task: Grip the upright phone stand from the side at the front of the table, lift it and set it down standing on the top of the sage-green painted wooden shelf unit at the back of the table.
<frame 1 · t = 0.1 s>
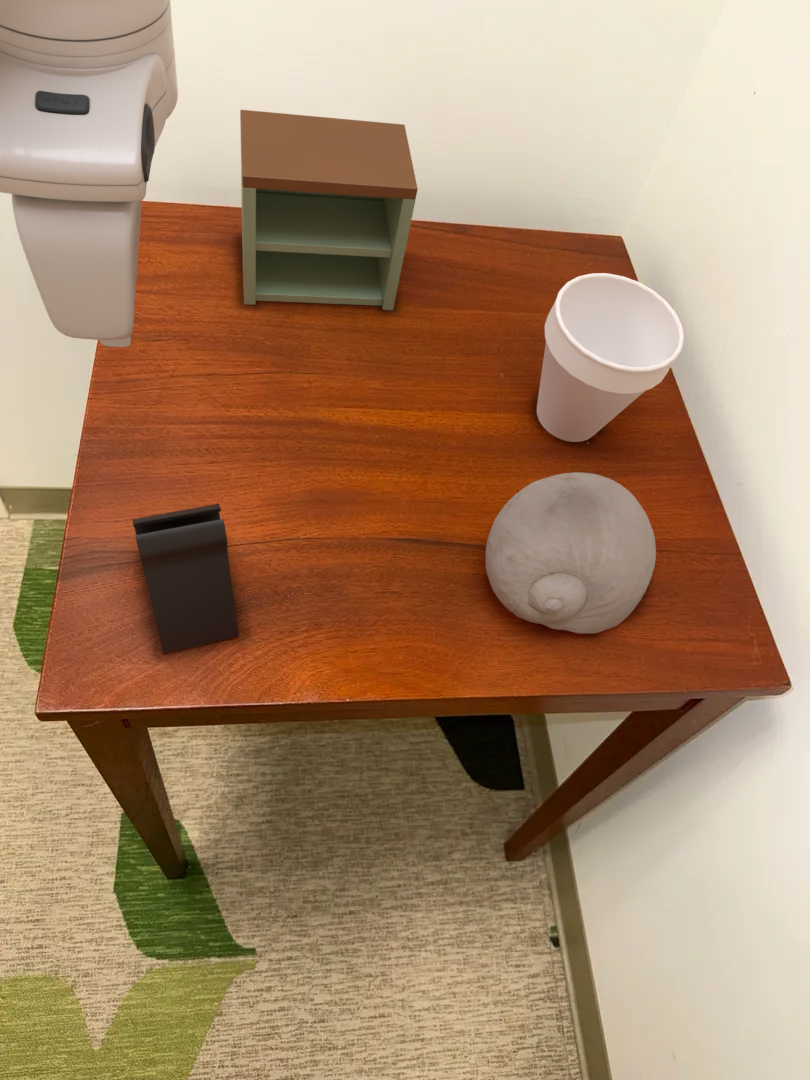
hand: (121, 283, 48), 23 cm above the table, tool pointing down, fingers open, 8 cm apart
phone stand: (190, 598, 63), on the table
cup: (567, 417, 81), on the table
shelf: (316, 275, 85), on the table
seashell: (560, 569, 71), on the table
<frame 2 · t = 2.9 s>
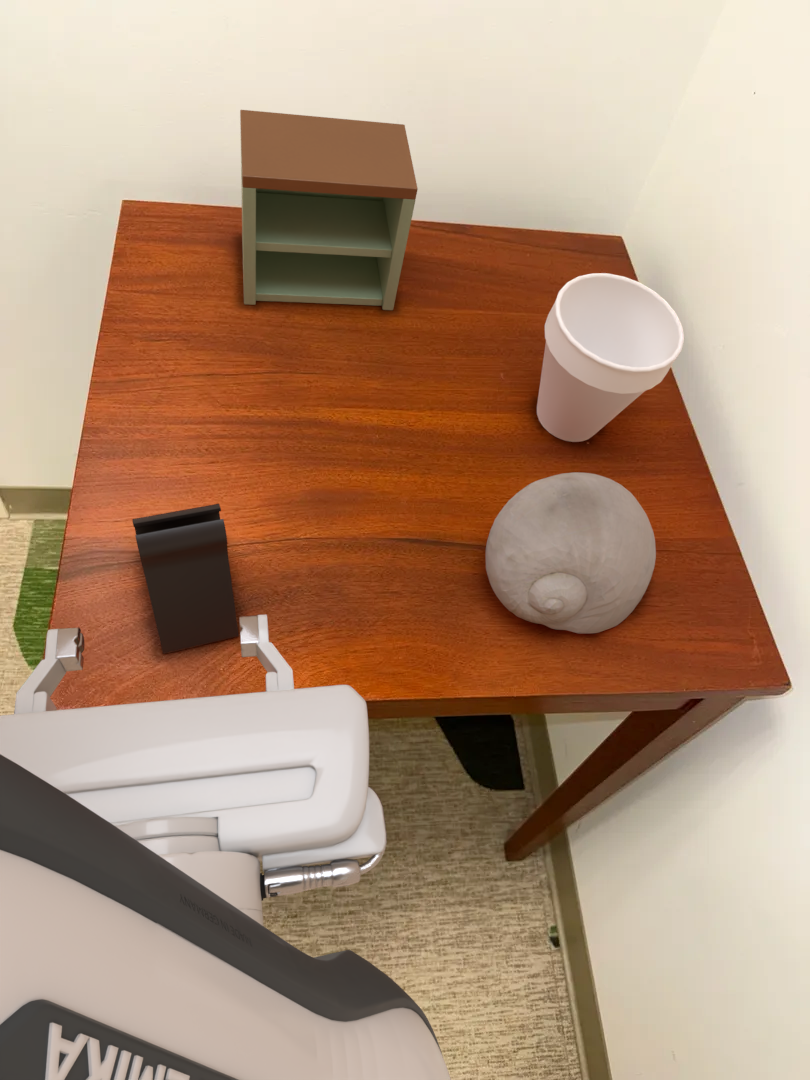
hand: (162, 625, 40), 20 cm above the table, tool horizontal, fingers open, 8 cm apart
nothing on the table moved.
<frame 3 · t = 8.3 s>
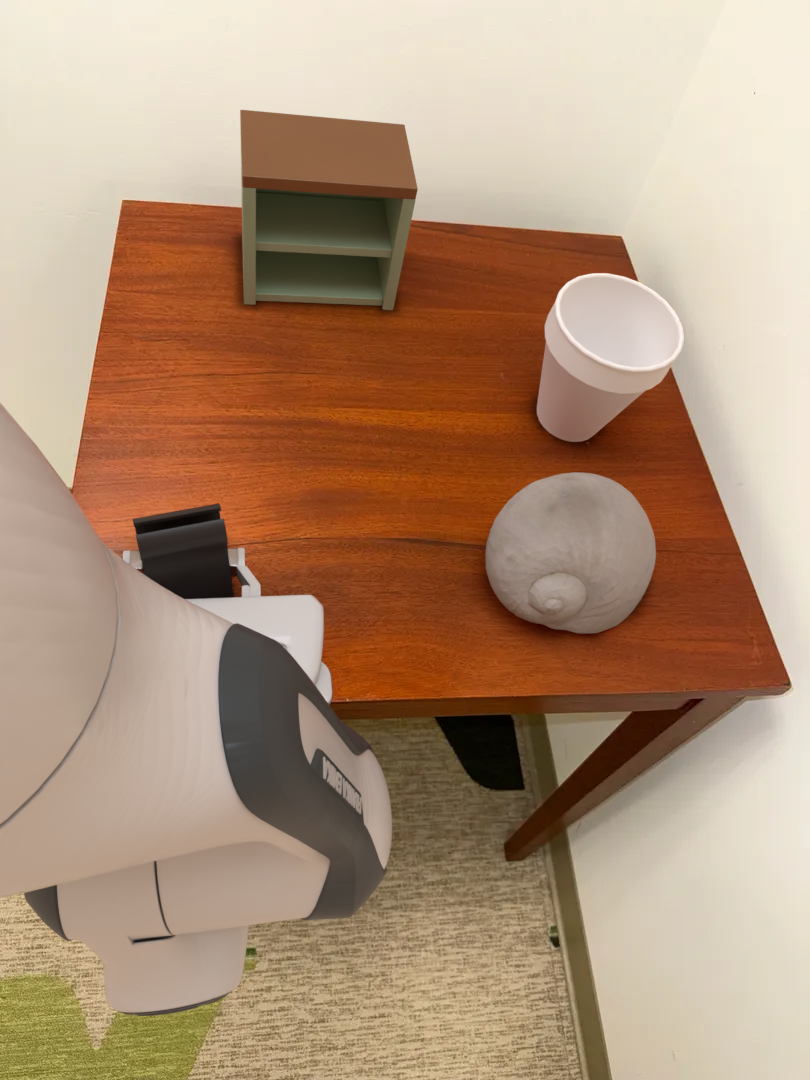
hand: (185, 552, 58), 6 cm above the table, tool horizontal, fingers closed on phone stand, 6 cm apart
phone stand: (191, 598, 63), on the table, touching gripper
everything else where it was.
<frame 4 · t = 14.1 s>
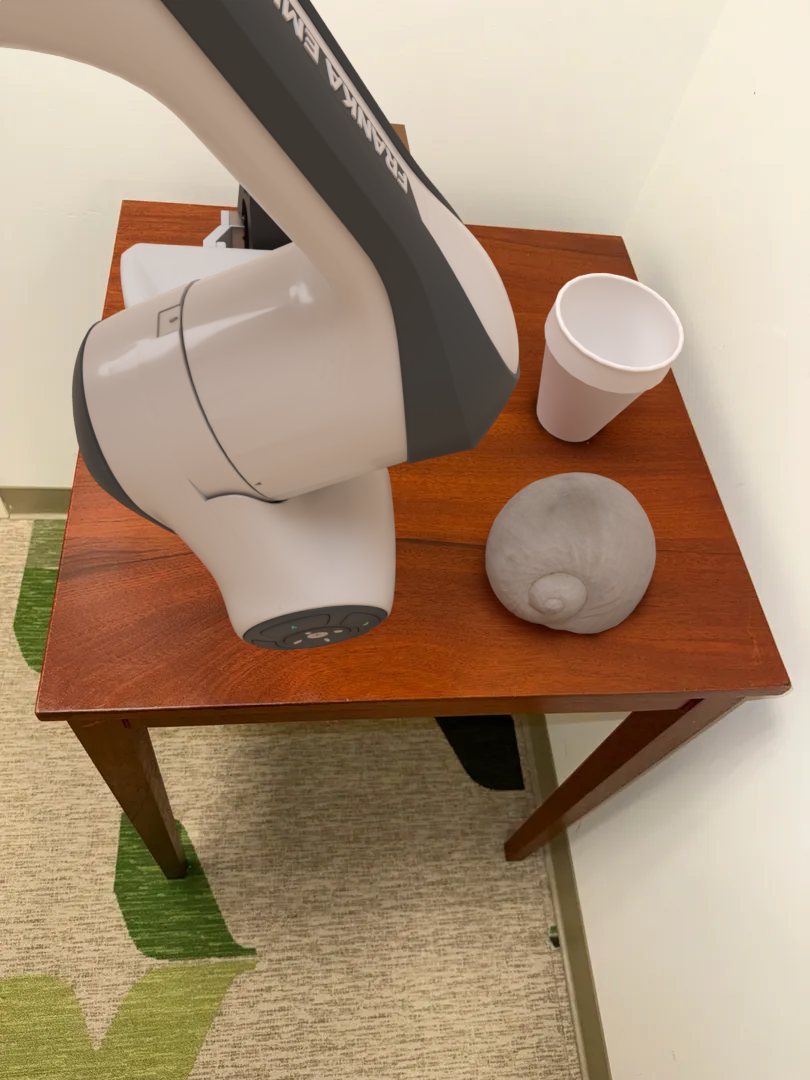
hand: (288, 223, 51), 25 cm above the table, tool horizontal, fingers closed on phone stand, 6 cm apart
phone stand: (286, 304, 56), point 19 cm above the table, touching gripper
everything else where it was.
when the fingers open (21 cm above the table, at t = 20.4 s): phone stand stays where it is, resting on shelf.
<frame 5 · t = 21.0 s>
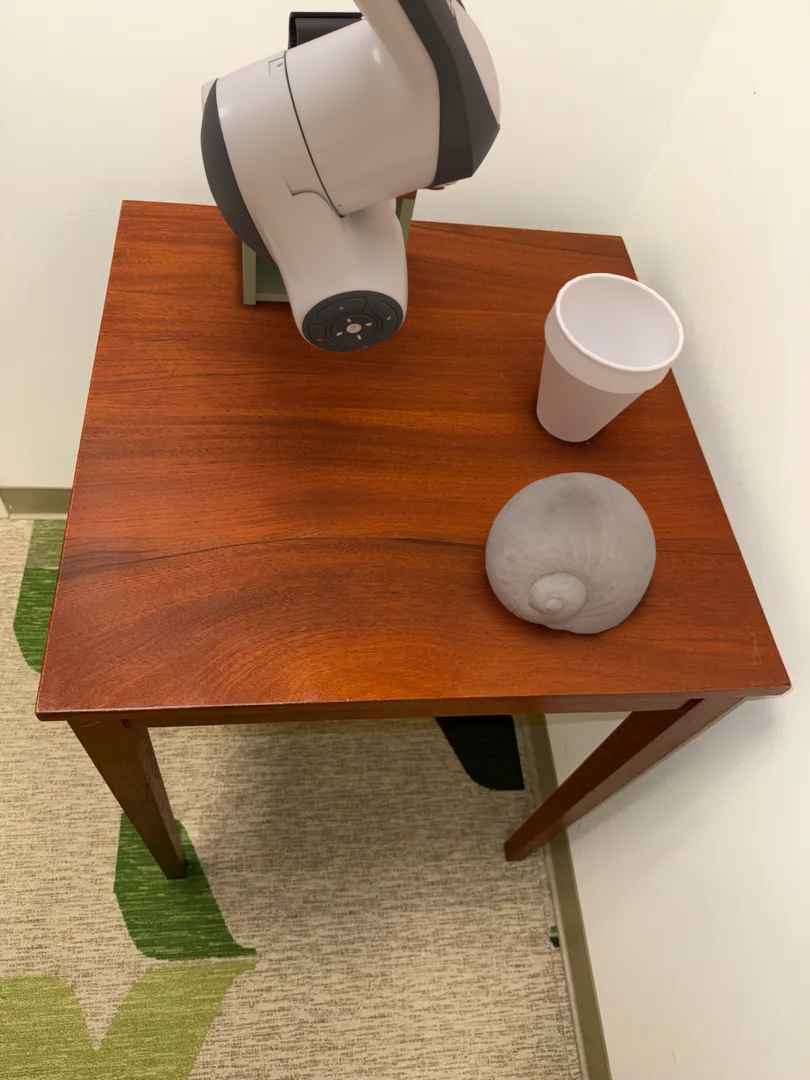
hand: (322, 77, 66), 22 cm above the table, tool horizontal, fingers open, 8 cm apart
phone stand: (319, 156, 71), point 15 cm above the table, touching shelf
everything else where it was.
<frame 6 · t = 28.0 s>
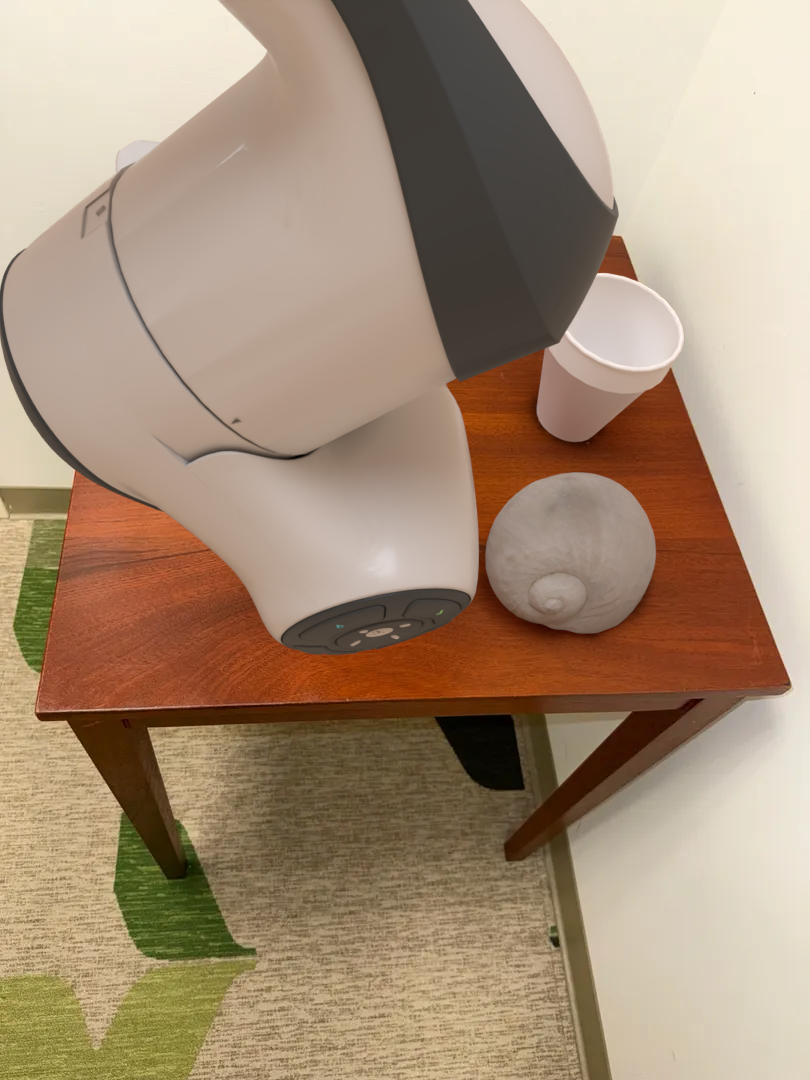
hand: (321, 128, 42), 34 cm above the table, tool horizontal, fingers open, 8 cm apart
nothing on the table moved.
at the end: phone stand inside the target area on the shelf (1.4 cm from its centre), point 14.8 cm above the shelf's base; phone stand tilted 0°; the gripper is holding nothing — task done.
